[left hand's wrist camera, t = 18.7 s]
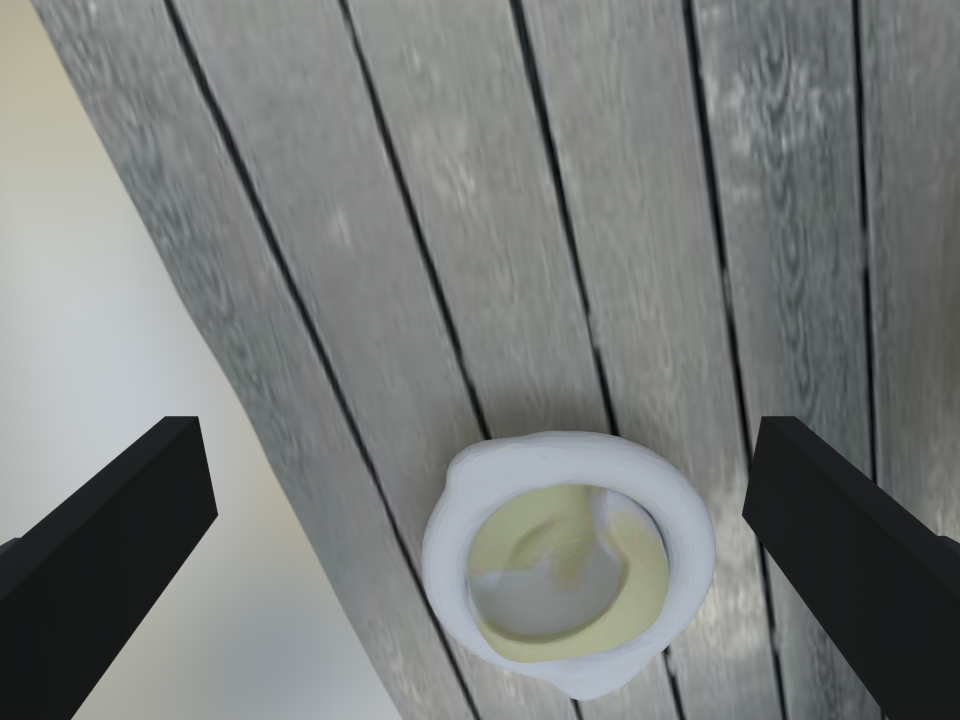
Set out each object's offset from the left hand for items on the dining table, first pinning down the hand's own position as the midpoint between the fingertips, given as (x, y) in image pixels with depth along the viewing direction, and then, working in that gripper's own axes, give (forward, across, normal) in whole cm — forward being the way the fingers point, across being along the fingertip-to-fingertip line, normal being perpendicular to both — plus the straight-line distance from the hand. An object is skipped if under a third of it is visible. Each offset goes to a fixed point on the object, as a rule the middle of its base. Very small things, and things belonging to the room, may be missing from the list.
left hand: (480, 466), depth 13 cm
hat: (+30, +6, -22) cm, 37 cm away
